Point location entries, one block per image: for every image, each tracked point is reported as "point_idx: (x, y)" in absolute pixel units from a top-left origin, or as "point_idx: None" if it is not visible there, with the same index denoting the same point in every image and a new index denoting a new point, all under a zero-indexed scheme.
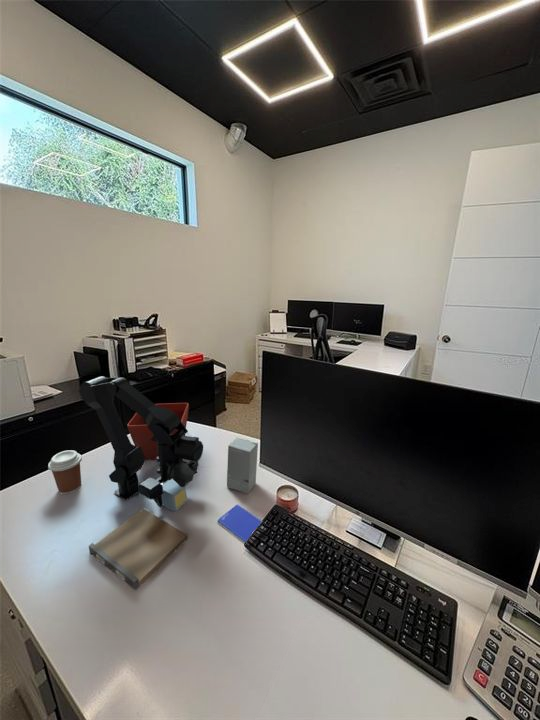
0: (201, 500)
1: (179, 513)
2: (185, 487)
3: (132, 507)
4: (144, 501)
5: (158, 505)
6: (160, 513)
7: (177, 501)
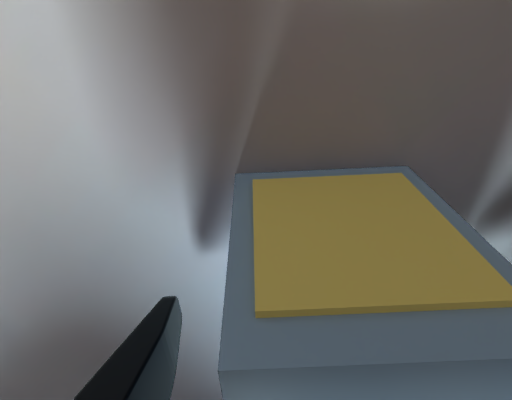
0: (109, 36)
1: (411, 103)
2: (231, 326)
3: None
4: None
5: None
6: None
7: (405, 216)
